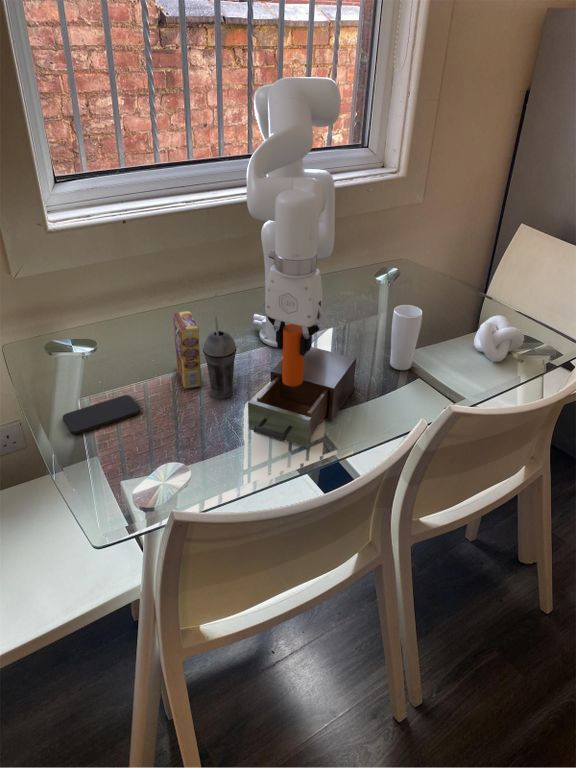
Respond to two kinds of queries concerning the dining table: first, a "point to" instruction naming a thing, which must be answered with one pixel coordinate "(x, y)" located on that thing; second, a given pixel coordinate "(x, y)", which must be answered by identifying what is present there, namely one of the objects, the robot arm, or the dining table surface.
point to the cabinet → (327, 376)
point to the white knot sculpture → (498, 338)
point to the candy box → (187, 349)
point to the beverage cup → (220, 362)
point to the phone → (100, 414)
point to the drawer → (288, 411)
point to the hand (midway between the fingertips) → (293, 348)
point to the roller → (292, 355)
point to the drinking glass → (404, 335)
